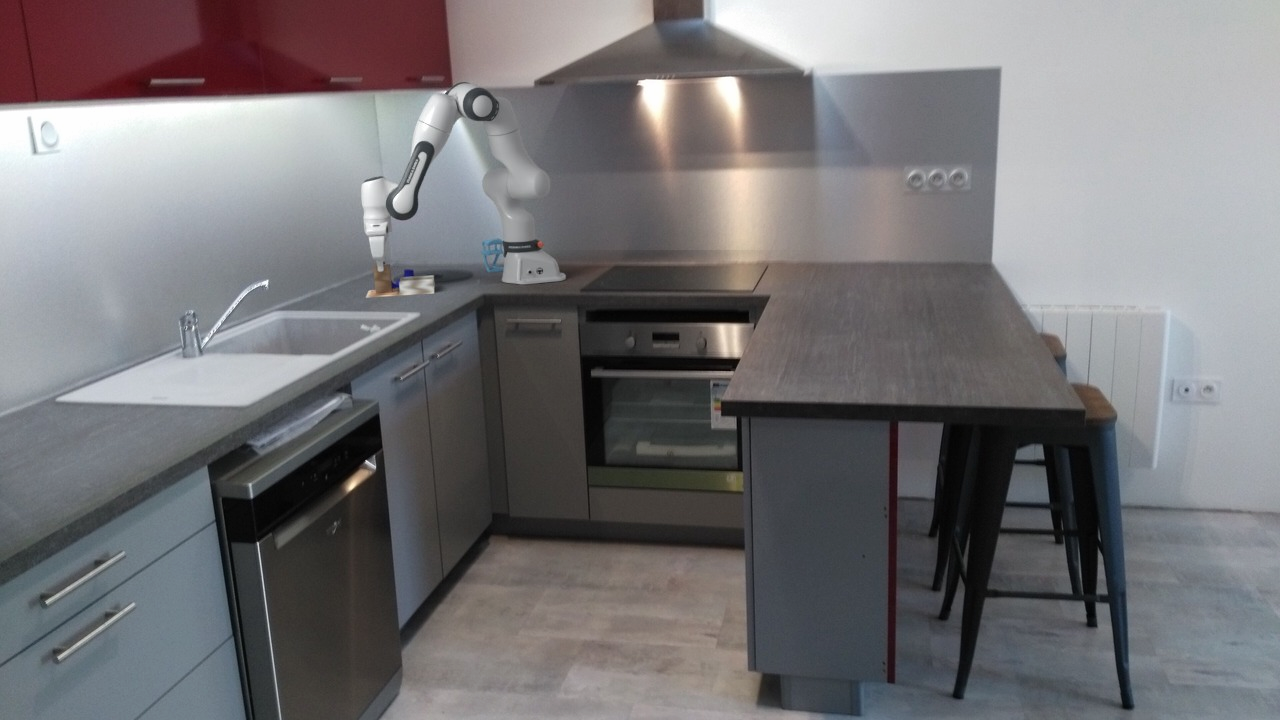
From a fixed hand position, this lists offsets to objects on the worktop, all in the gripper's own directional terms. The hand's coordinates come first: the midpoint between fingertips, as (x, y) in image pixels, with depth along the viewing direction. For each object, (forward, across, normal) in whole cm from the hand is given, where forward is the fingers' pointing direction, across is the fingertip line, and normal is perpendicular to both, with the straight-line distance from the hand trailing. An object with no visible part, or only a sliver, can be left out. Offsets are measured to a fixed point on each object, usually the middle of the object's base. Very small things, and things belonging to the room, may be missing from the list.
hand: (381, 268), depth 352 cm
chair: (+9, -40, +37) cm, 55 cm away
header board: (+9, 0, +6) cm, 11 cm away
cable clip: (+10, -12, +3) cm, 16 cm away
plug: (+8, 0, 0) cm, 8 cm away
